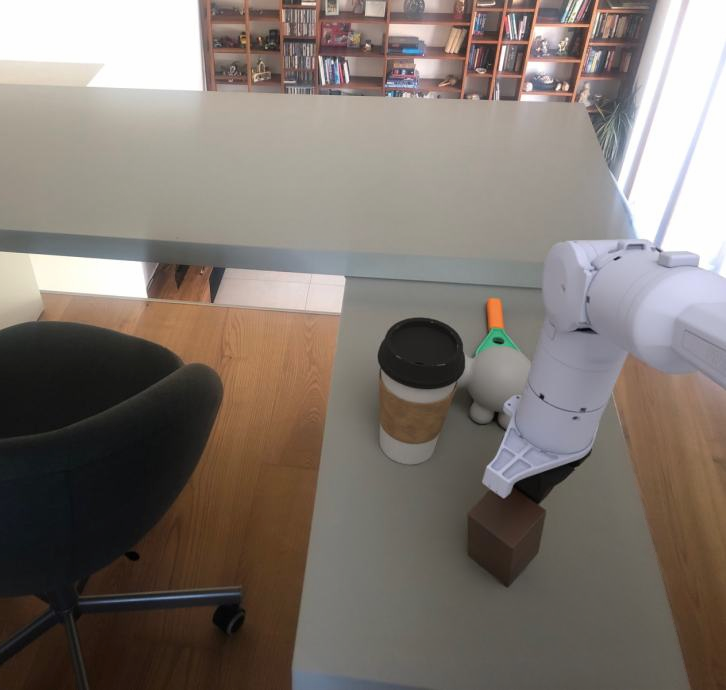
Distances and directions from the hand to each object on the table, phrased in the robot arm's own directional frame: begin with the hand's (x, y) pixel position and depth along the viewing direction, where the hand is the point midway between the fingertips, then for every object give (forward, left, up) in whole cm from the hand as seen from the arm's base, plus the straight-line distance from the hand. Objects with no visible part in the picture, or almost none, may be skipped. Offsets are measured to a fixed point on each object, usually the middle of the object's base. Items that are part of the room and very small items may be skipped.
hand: (526, 498), depth 60 cm
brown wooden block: (0, +1, -8) cm, 8 cm away
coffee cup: (+15, -3, -8) cm, 17 cm away
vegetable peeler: (+19, -24, -8) cm, 32 cm away
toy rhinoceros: (+14, -13, -8) cm, 21 cm away
